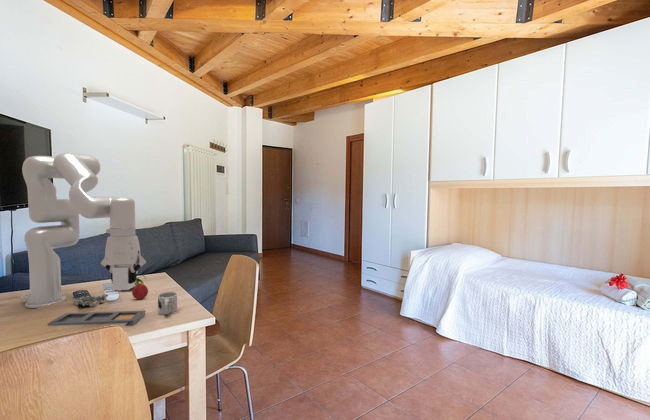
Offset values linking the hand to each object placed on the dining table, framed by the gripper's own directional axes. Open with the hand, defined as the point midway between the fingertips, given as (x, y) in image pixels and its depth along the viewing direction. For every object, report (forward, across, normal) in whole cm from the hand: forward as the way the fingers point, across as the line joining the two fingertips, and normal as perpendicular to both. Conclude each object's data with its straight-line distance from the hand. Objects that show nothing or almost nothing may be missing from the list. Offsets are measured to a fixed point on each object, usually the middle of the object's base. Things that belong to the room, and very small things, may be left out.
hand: (124, 282), depth 112 cm
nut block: (+2, 0, 0) cm, 2 cm away
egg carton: (+15, -21, +17) cm, 30 cm away
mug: (+14, +12, +6) cm, 20 cm away
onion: (+14, -4, +21) cm, 26 cm away
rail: (+14, -9, 0) cm, 16 cm away
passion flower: (+14, -16, +38) cm, 43 cm away
